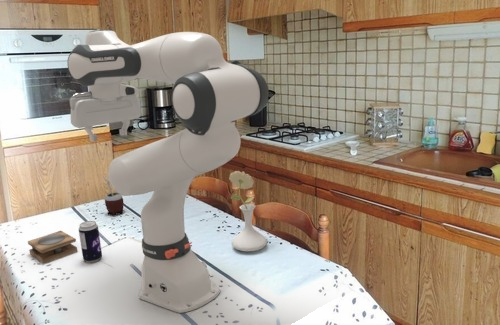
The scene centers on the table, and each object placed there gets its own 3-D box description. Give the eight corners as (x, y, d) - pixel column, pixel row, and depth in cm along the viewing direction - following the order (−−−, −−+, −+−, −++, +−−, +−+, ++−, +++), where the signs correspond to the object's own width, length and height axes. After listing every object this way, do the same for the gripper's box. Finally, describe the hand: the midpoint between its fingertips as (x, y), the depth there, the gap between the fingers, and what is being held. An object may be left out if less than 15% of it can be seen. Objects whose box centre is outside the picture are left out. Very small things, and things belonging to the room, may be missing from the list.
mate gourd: (121, 216, 178) (117, 180, 174) (102, 217, 178) (97, 180, 174) (127, 209, 185) (122, 174, 181) (108, 210, 185) (103, 175, 182)
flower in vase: (274, 245, 145) (271, 170, 139) (250, 258, 137) (246, 179, 131) (245, 235, 154) (241, 164, 148) (221, 247, 146) (215, 172, 140)
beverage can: (96, 264, 139) (91, 227, 136) (79, 263, 140) (74, 227, 137) (105, 255, 144) (100, 220, 141) (89, 255, 145) (84, 220, 142)
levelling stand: (77, 251, 148) (75, 237, 147) (43, 264, 141) (41, 249, 139) (62, 242, 156) (60, 229, 154) (30, 254, 148) (27, 240, 147)
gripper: (74, 95, 117) (79, 146, 121) (142, 88, 131) (144, 134, 135) (63, 92, 121) (68, 142, 125) (130, 85, 135) (133, 130, 139)
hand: (108, 138), depth 130 cm, fingers open, 8 cm apart
